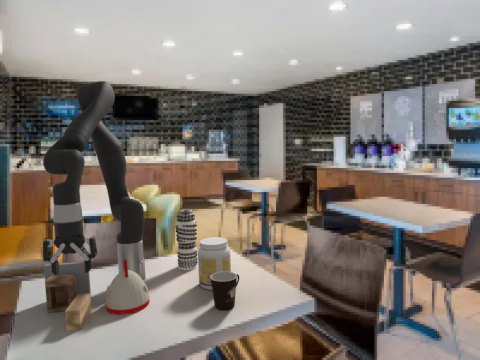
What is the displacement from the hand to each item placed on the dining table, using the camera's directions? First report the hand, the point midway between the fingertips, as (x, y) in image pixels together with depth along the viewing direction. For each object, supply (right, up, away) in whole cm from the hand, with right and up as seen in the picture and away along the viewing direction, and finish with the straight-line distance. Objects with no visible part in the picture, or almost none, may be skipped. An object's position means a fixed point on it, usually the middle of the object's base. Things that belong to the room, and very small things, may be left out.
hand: (72, 273), depth 105 cm
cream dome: (+12, -15, +14) cm, 24 cm away
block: (-9, -15, +13) cm, 22 cm away
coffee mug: (+46, -14, +12) cm, 49 cm away
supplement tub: (+40, -12, +30) cm, 51 cm away
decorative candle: (+27, -10, +50) cm, 57 cm away
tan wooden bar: (0, -16, +5) cm, 16 cm away
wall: (-10, -14, +19) cm, 26 cm away
